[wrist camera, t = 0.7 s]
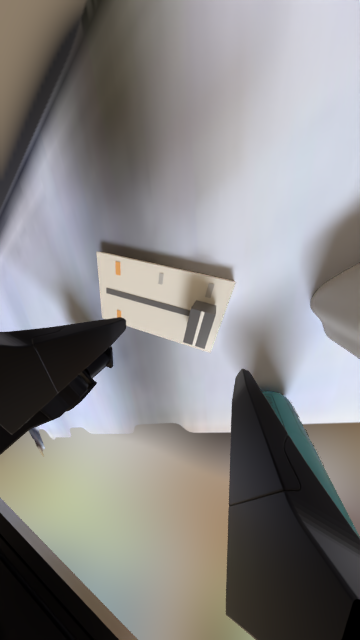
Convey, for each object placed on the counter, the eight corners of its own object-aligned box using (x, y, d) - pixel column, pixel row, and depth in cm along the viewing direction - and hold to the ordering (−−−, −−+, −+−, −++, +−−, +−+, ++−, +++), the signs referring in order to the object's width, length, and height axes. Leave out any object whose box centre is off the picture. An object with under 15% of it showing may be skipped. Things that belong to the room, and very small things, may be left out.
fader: (207, 334, 21) (204, 349, 17) (189, 329, 21) (182, 342, 18) (216, 305, 19) (215, 315, 15) (196, 300, 19) (190, 308, 16)
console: (211, 346, 24) (210, 353, 22) (109, 314, 28) (101, 318, 26) (234, 280, 19) (235, 282, 17) (106, 252, 23) (95, 251, 21)
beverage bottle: (247, 382, 25) (315, 663, 7) (289, 384, 23) (525, 787, 5) (248, 406, 27) (302, 668, 10) (287, 410, 25) (448, 758, 7)
